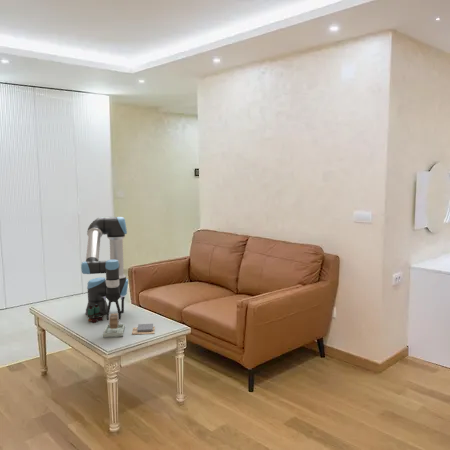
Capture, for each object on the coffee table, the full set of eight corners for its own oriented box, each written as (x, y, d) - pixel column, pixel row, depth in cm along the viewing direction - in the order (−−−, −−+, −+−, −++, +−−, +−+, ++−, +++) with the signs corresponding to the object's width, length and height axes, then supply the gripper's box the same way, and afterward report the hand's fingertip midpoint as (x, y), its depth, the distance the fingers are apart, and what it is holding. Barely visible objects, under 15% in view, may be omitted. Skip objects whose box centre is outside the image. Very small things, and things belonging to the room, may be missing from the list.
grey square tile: (138, 324, 269) (137, 329, 260) (153, 323, 271) (152, 329, 261) (138, 326, 270) (137, 332, 260) (153, 325, 271) (152, 331, 261)
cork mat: (133, 328, 267) (133, 327, 267) (154, 327, 269) (154, 326, 269) (131, 334, 257) (131, 334, 256) (154, 333, 258) (154, 333, 258)
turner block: (111, 323, 264) (110, 313, 264) (117, 322, 265) (117, 313, 264) (110, 328, 254) (109, 318, 254) (117, 328, 255) (117, 318, 255)
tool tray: (106, 328, 268) (106, 324, 268) (125, 327, 269) (125, 323, 269) (102, 337, 252) (102, 334, 252) (122, 336, 253) (122, 333, 253)
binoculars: (95, 309, 274) (85, 305, 279) (95, 325, 275) (85, 320, 281) (107, 305, 281) (97, 301, 286) (106, 321, 283) (96, 316, 288)
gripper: (96, 288, 253) (98, 327, 255) (127, 287, 255) (128, 326, 257) (98, 285, 260) (100, 323, 263) (128, 284, 262) (129, 322, 265)
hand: (114, 324), depth 260 cm, fingers closed on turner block, 4 cm apart
